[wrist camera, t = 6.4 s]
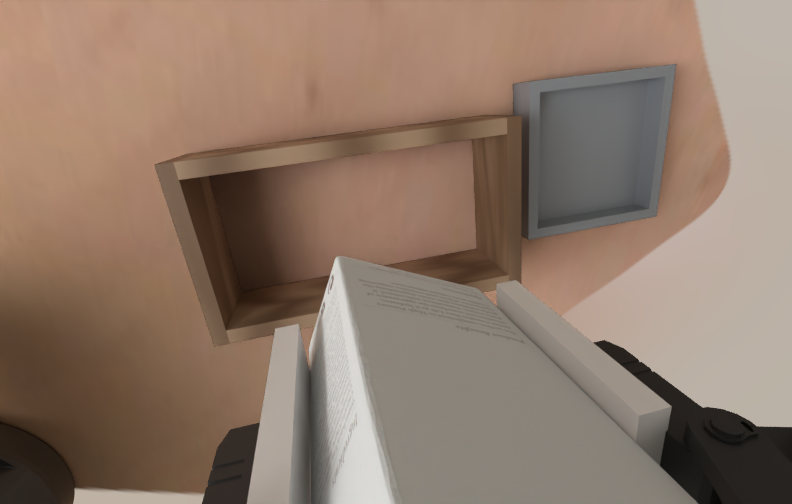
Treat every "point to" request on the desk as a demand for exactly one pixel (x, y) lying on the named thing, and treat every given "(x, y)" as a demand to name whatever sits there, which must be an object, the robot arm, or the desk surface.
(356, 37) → the desk surface
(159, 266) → the desk surface
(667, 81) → the charcoal tray
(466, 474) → the skincare box
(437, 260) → the walnut box
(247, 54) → the desk surface
